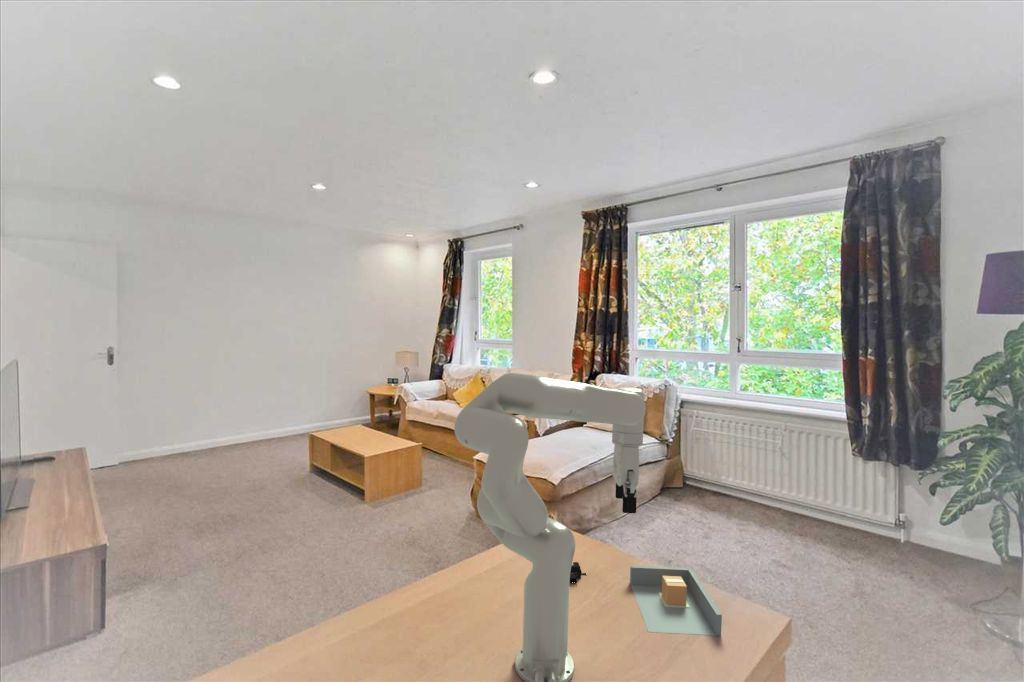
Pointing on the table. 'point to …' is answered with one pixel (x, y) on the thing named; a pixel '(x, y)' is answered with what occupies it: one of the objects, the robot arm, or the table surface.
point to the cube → (674, 590)
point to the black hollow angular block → (575, 572)
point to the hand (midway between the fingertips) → (625, 505)
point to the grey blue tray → (676, 619)
